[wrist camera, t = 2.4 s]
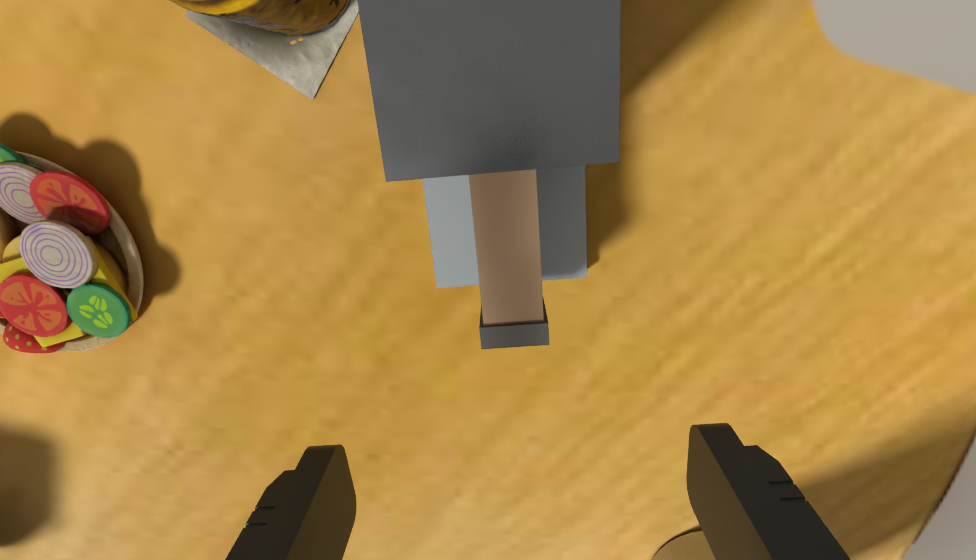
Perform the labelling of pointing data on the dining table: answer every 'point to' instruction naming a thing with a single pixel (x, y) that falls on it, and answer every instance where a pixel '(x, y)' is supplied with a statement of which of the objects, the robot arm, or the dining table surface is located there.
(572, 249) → the base plate
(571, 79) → the bearing block
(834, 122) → the dining table surface
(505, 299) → the shaft
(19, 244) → the toy food set
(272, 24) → the condiment
